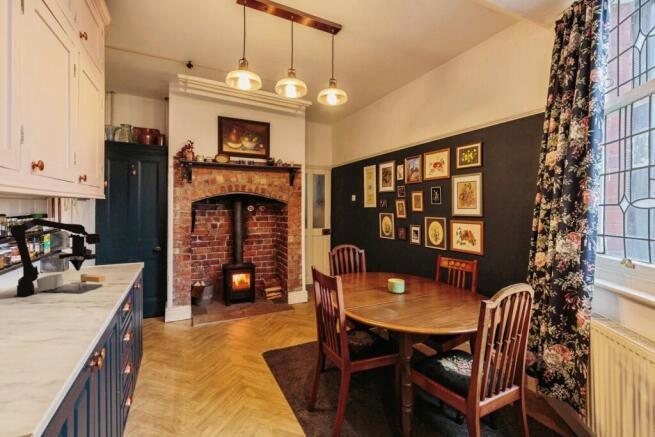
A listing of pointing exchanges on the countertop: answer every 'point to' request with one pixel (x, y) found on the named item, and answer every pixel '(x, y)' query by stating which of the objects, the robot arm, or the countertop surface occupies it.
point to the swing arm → (92, 278)
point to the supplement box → (50, 282)
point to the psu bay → (80, 290)
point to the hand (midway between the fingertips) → (77, 270)
